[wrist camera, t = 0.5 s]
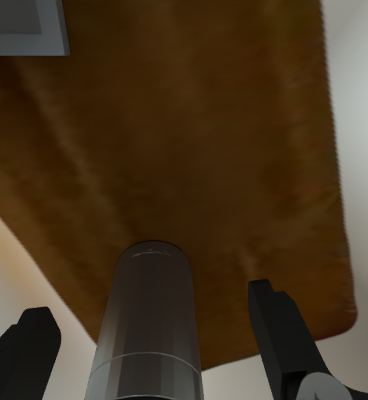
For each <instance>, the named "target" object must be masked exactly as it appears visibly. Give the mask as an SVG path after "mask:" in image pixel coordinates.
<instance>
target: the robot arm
mask: <svg viewBox="0 0 368 400" xmlns="http://www.w3.org/2000/svg"><path fill="white" fill-rule="evenodd" d="M248 308H249V316H250V320H251V324H252V328H253V331H254V334H255V338H256V341H257V344H258V348H259V351H260V355H261V358H262V361H263V365H264V368H265V371H266V375H267V378H268V381H269V385H270V388H271V392H272V395H273V398H274V400H368V393H365V392H360V391H357V390H353V389H351V388H349V387H347V386H345V385H344V384H342V383H341V382H340V381H339V380H337V379H336V378H335V377H334V376H333V375H332V374H331V373H330V371H329V370H328V368H327V367H326V365H325V363H324V361H323V359H322V356H321V354H320V352H319V350H318V348H317V346H316V344H315V342H314V340H313V338H312V336H311V334H310V332H309V330H308V328H307V327H306V324H305V322H304V320H303V317H302V316H301V313H300V311H299V309H298V307H297V305H296V303H295V301H294V300H293V299H292V298H291V297H290V296H289V295H288V294H286V293H285V292H284V291H281V292H274V291H273V289H272V286H271V284H270V282H269V280H268V279H262V280H254V281H249V282H248ZM60 345H61V332H60V329H59V327H58V325H57V323H56V321H55V319H54V317H53V315H52V313H51V311H50V309H49V308H48V307H37V308H30V309H26V310H25V311H24V312H23V313H22V315H21V317H20V319H19V321H18V323H17V324H14V325H11V327H9V329H8V330H7V331H6V332H5V333H4V334H3V335H2V336H1V337H0V400H42V398H43V395H44V392H45V389H46V386H47V383H48V380H49V378H50V375H51V372H52V369H53V366H54V363H55V360H56V357H57V354H58V352H59V348H60ZM84 400H204V394H203V386H202V377H201V366H200V356H199V346H198V336H197V326H196V316H195V306H194V296H193V285H192V275H191V267H190V263H189V260H188V259H187V257H186V255H185V254H184V253H183V252H182V251H181V250H179V249H178V248H177V247H175V246H173V245H171V244H168V243H164V242H159V241H148V242H142V243H139V244H136V245H134V246H132V247H130V248H129V249H127V250H126V251H125V252H124V253H123V254H122V255H121V257H120V258H119V260H118V263H117V266H116V270H115V274H114V279H113V283H112V286H111V290H110V294H109V298H108V303H107V307H106V311H105V315H104V319H103V323H102V327H101V332H100V336H99V340H98V344H97V348H96V352H95V356H94V360H93V365H92V369H91V373H90V377H89V381H88V386H87V390H86V395H85V399H84Z"/></svg>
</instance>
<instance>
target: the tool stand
mask: <svg viewBox="0 0 368 400" xmlns="http://www.w3.org/2000/svg"><path fill="white" fill-rule="evenodd" d="M68 55H70V49H69V43H68V37H67V30H66V24H65V18H64V12H63V6H62V0H0V56H68Z"/></svg>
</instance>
